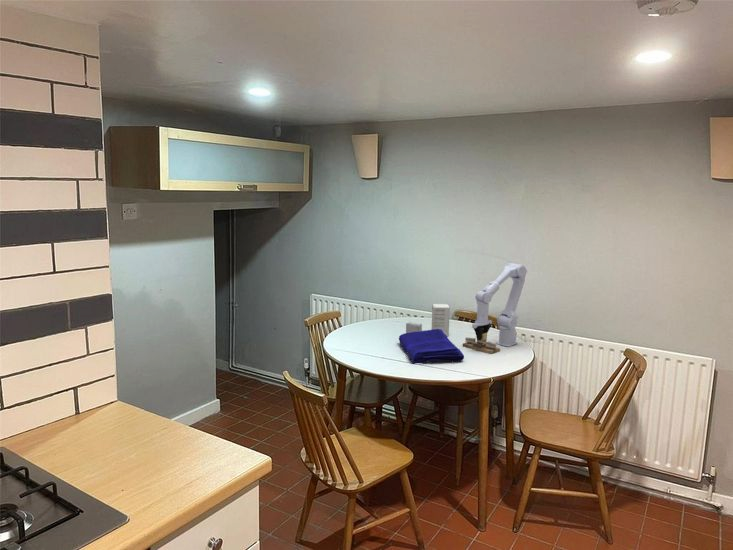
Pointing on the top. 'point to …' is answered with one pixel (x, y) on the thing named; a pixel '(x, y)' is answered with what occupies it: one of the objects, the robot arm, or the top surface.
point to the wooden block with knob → (483, 339)
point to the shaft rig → (481, 346)
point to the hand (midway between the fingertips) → (481, 339)
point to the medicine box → (413, 327)
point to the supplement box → (441, 317)
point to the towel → (430, 347)
